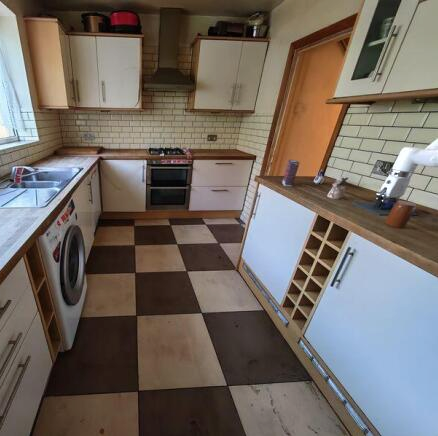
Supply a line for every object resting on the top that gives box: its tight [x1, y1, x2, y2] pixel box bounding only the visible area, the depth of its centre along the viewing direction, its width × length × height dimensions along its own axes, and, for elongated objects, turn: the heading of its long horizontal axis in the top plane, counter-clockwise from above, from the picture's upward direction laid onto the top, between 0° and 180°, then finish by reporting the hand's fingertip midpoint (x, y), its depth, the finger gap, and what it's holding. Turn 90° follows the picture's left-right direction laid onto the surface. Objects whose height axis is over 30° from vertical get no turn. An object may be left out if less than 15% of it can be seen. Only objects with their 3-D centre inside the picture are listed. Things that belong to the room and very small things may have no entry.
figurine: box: [327, 176, 349, 200], centre depth 129 cm, size 7×7×12 cm
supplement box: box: [281, 159, 300, 188], centre depth 149 cm, size 9×5×16 cm, turn 161°
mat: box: [351, 201, 419, 217], centre depth 117 cm, size 20×16×1 cm
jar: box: [384, 200, 417, 229], centre depth 98 cm, size 6×6×10 cm
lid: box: [383, 199, 396, 207], centre depth 116 cm, size 7×7×2 cm
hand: (382, 207), depth 117 cm, fingers closed on lid, 6 cm apart
